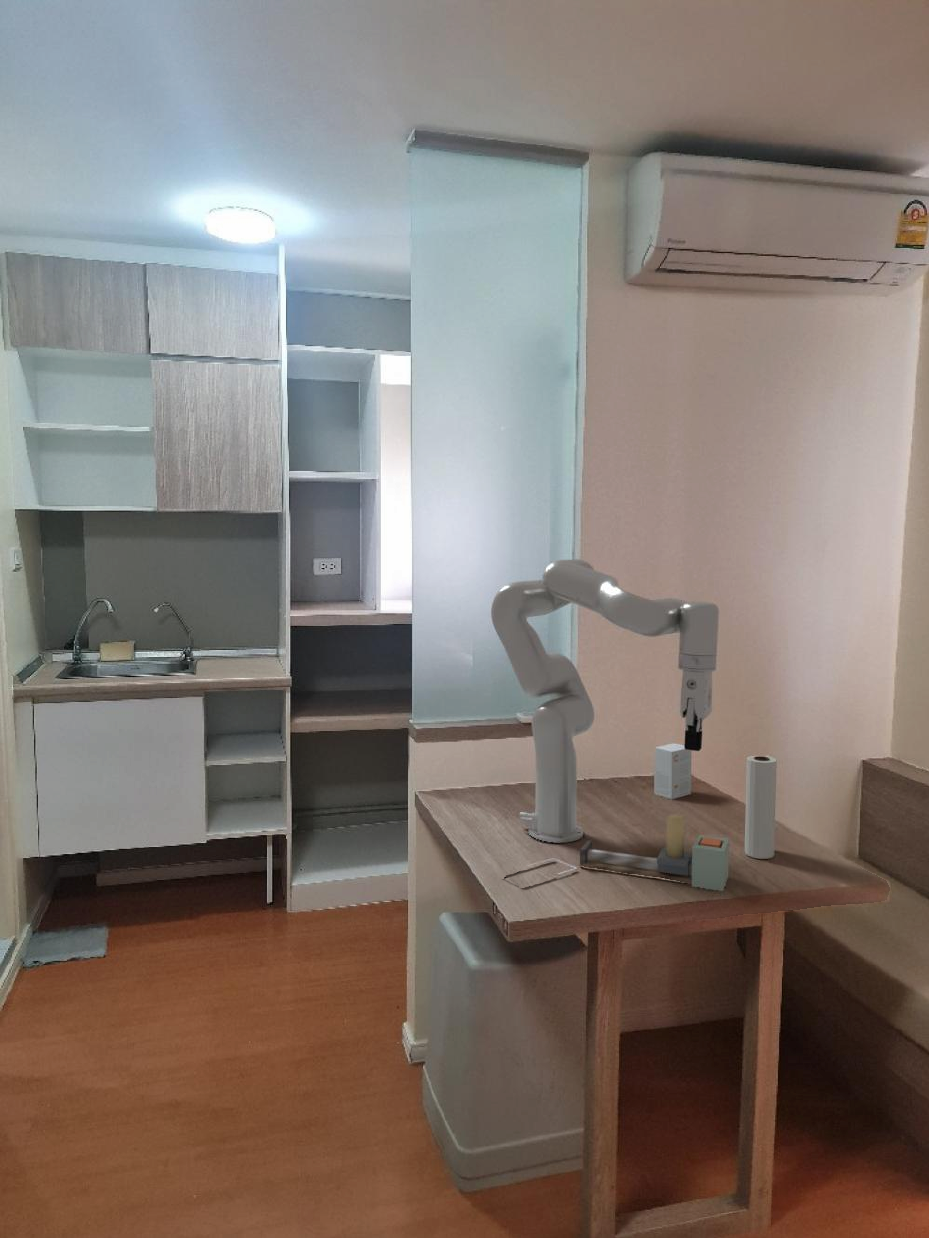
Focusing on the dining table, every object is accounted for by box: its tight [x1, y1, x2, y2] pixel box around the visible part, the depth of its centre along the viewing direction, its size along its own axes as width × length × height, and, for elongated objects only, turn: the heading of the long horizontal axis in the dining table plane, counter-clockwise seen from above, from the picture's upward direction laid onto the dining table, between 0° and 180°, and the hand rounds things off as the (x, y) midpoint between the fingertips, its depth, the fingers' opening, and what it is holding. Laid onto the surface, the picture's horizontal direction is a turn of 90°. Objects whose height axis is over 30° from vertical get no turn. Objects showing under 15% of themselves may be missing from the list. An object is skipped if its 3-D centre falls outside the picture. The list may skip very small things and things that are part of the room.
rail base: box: [579, 839, 692, 885], centre depth 180 cm, size 23×6×4 cm, turn 66°
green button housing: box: [691, 834, 730, 892], centre depth 174 cm, size 6×8×8 cm
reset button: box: [700, 837, 722, 848], centre depth 174 cm, size 4×4×3 cm
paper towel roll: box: [744, 754, 778, 860], centre depth 188 cm, size 7×6×21 cm
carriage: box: [656, 813, 692, 876], centre depth 176 cm, size 6×6×11 cm
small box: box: [653, 742, 693, 800], centre depth 234 cm, size 8×6×13 cm
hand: (692, 749), depth 181 cm, fingers closed
